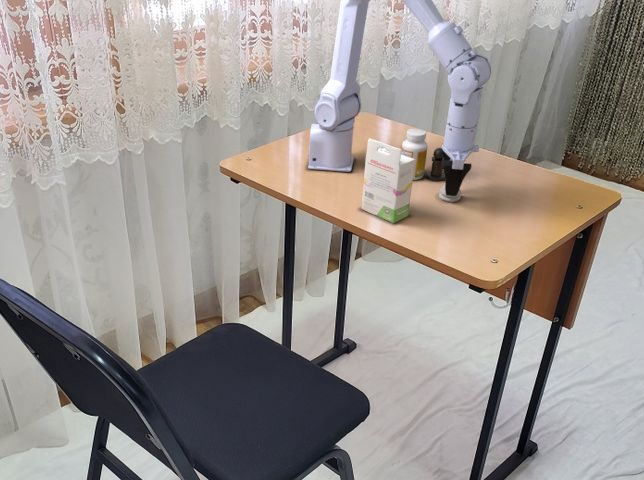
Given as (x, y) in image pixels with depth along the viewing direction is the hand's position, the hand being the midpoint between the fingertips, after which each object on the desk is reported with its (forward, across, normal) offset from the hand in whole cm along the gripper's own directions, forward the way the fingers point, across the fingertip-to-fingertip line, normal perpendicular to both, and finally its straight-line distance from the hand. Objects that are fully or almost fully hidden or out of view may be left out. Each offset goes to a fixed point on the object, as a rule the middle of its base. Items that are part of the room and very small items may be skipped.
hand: (450, 189), depth 149 cm
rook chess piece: (+2, 0, 0) cm, 2 cm away
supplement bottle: (+2, +10, +8) cm, 13 cm away
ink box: (+2, -9, +13) cm, 16 cm away
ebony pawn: (+2, +10, +3) cm, 11 cm away
